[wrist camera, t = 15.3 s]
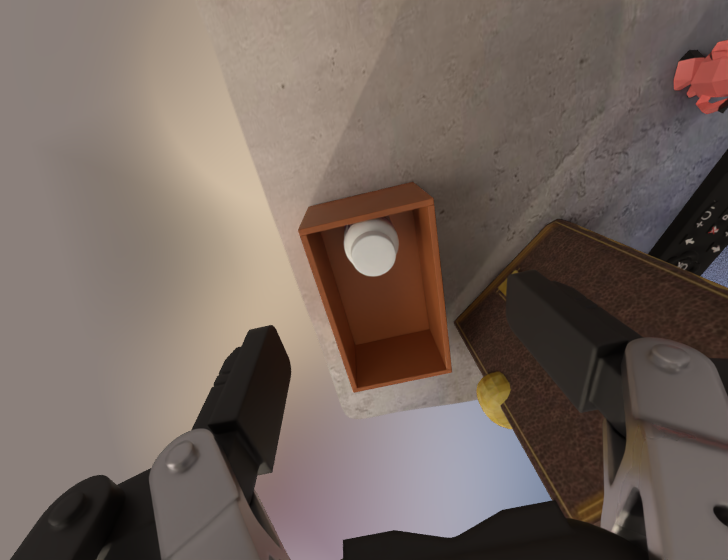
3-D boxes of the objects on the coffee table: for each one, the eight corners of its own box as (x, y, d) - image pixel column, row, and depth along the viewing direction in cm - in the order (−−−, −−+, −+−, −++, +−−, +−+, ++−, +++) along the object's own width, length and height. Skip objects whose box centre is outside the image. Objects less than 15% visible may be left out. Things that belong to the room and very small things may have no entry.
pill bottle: (390, 200, 33) (406, 226, 24) (389, 245, 36) (403, 282, 27) (342, 202, 33) (342, 228, 24) (345, 246, 35) (345, 284, 27)
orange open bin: (308, 206, 33) (297, 230, 26) (412, 181, 33) (433, 197, 25) (351, 346, 43) (353, 392, 36) (433, 328, 43) (452, 372, 35)
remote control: (591, 328, 44) (601, 337, 43) (774, 88, 31) (800, 85, 29) (631, 337, 46) (643, 345, 44) (824, 110, 32) (852, 109, 30)
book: (552, 207, 35) (904, 343, 13) (594, 243, 38) (946, 408, 16) (434, 332, 43) (530, 550, 21) (475, 355, 46) (599, 570, 23)
